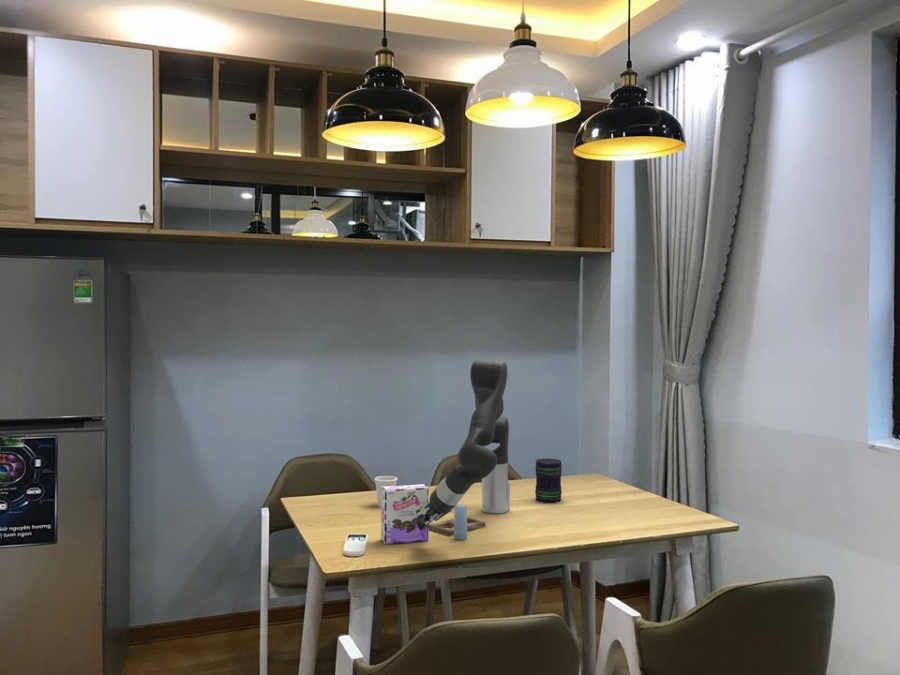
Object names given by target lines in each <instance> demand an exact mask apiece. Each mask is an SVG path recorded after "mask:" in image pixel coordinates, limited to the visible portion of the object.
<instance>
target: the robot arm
mask: <svg viewBox="0 0 900 675" xmlns="http://www.w3.org/2000/svg"><path fill="white" fill-rule="evenodd" d="M469 373H470V374H469V375H470V376H469V377H470V378H469V379H470V383H471V387H472V390H473V393H474V404H475V410H474V411H473V413H472V415H471V419H470V424H469V430H468V433H467V437H466V439H465V440H464V442H463V444H462V445H461V447H460V448H459V451H458V455H457V460H458V464H456V465H455V466H453V468H452V469H451V470H450V471H449V472H448V473H447V475H446V476H445V477H444V478H443V479H442V480H441V481H440V482H439V484H437V486H436V487H435V488H434V490H433V491H432V492H431V494H430V496H429V504H428V505H426V506H425V509H424V510H420V509H418V510H417V511H416V514H417V517H418V519H419V520H420V522H419V523H418V524H417V526H418V528H419V530H420V531H421V530H425V528H426V527H427V526H428V525H430V524H433V523H434V522H438V521H439V520H441V519H442V518H444V516H446V515H448V514H449V513H451V512H452V511H453V510H454V507H455V506H456V505H458V503H459V502H460V501H461V500H462V499H463V497H464V496H465V494H466V493H467V491H468V490H470V488H471V487H472V486H473V485H474V484H476V483H478V482H480V481H481V511H482V512H484V513H487V514H504V513H507V512H508V511H510V509H511V508H510V507H511V503H510V502H511V497H510V496H511V484H510V482H509V435H510V432H509V431H510V422H509V420H508V418H507V417H506V416H505V417H504V416H502V415H503V414H504V413H503V412H504V410H505V409H504V393H505V390H506V387H507V386H506V385H507V381H508V365H507V363H506V362H505V361H503V360H493V359H483V358H480V359H477V360H474V361H473V362H472V364H471V367H470V372H469ZM490 444H499V445H498V446H497V447H496V448H494V449H493V450H491V449H489V448H487V447H486V446H489V445H490Z"/></svg>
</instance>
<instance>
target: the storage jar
mask: <svg viewBox="0 0 900 675" xmlns="http://www.w3.org/2000/svg"><path fill="white" fill-rule="evenodd" d="M534 467H535V482H536V483H535V501H536V502H537V501H539V502H538V503H540V502H543V503H542V504H547V503H554V504H558V503H557V502H559V503H561V502H562V492H563V491H562V481H561V480H562V479H561V478H562V470H563V468H562V460H560V459H558V458H557V459H556V458H538V459H536V460H535V466H534ZM560 501H561V502H560Z"/></svg>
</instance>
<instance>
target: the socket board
mask: <svg viewBox="0 0 900 675" xmlns="http://www.w3.org/2000/svg"><path fill="white" fill-rule="evenodd" d="M485 527H486V521H484V520H479V519H476V518H472V517H469V516H467V532H470V531H474V530H478V529H481V528H485ZM428 531H432V532H435V533H437V534H442V535H445V536H448V537H451V536H454V518H451V519H446V520H443V521H439V522H438V521H437V522H433V523H430V524H429V525H428Z"/></svg>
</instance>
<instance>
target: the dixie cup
mask: <svg viewBox="0 0 900 675" xmlns="http://www.w3.org/2000/svg"><path fill="white" fill-rule="evenodd" d="M397 481H398V477H396V476H393V475H379V476H376V477H375V478H374V482H375V483H374V484H375V489H376V490H375V491H376V499H377V500H376V501H377V506H378V507H380V508H381V495H382V490H381V487H382V486H385V487H386V486H397Z"/></svg>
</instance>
